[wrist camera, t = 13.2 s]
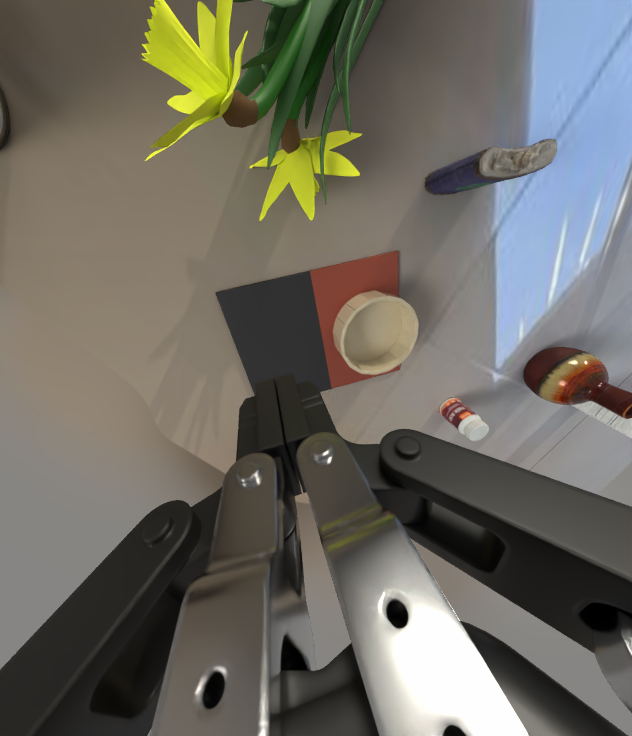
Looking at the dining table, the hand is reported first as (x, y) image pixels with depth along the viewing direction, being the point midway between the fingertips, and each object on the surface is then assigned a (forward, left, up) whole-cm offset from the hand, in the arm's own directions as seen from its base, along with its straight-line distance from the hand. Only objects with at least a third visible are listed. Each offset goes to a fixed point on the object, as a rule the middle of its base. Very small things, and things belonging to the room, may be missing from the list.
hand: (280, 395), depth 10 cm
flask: (+28, +8, -27) cm, 40 cm away
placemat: (+6, -9, -27) cm, 29 cm away
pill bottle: (+31, -32, -27) cm, 52 cm away
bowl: (+14, -10, -27) cm, 32 cm away
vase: (+52, -28, -27) cm, 65 cm away
